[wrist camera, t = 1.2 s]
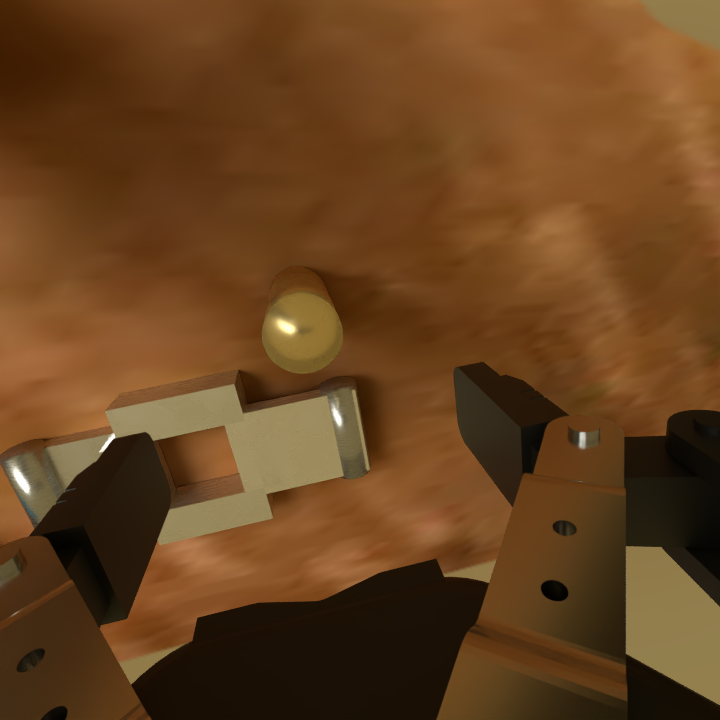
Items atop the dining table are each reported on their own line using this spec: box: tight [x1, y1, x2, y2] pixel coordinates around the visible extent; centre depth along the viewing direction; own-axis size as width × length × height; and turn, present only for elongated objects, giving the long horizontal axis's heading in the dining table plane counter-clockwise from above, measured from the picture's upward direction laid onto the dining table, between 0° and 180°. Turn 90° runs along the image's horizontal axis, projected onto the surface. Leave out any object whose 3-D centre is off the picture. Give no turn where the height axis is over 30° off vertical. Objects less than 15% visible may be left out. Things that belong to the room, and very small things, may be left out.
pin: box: [262, 267, 343, 374], centre depth 24 cm, size 4×4×9 cm
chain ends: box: [0, 370, 371, 545], centre depth 29 cm, size 10×22×3 cm, turn 99°
